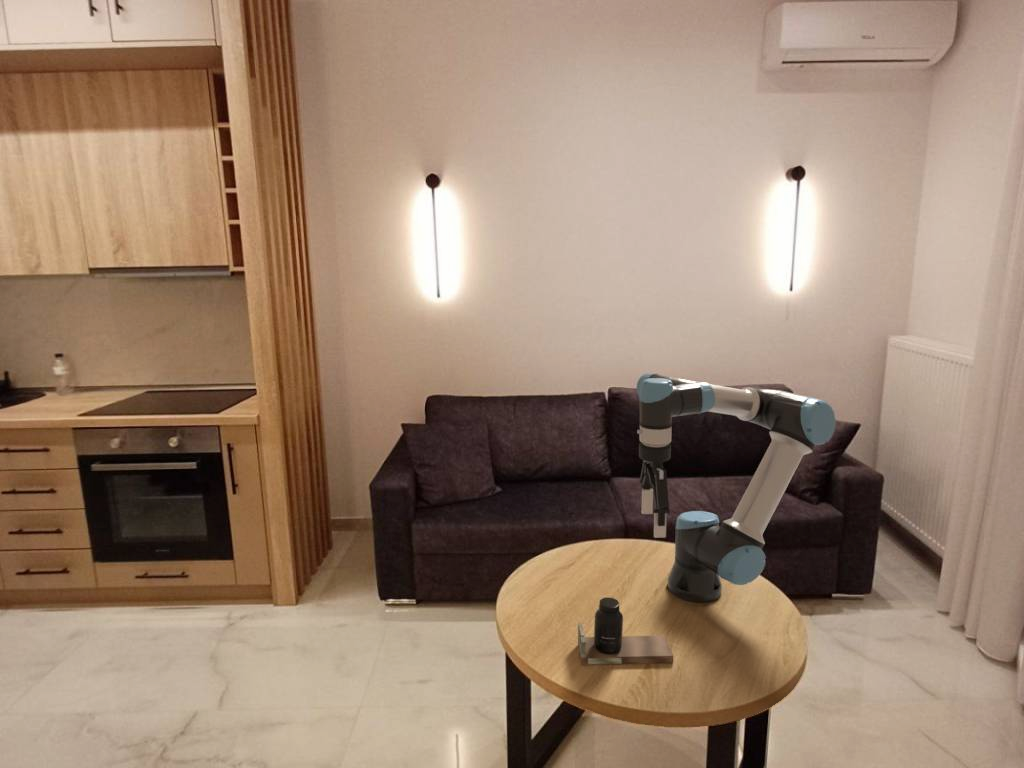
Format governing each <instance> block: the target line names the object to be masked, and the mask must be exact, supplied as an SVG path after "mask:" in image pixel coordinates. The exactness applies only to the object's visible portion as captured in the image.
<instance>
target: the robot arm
mask: <svg viewBox="0 0 1024 768" xmlns="http://www.w3.org/2000/svg"><path fill="white" fill-rule="evenodd" d="M636 393H637V395H638V396H639V397H638V398H639V399H638V400H639V429H637V431H636V433H637V434H638V435H639V444H638V457H639V459H640V460H642V465H641V466H642V467H641V471H640V476H639V477H640V479H639V483H640V484H641V486H640V487H641V515H653V537H654V538H655V539H657V538H658V539H659V538H666V537H667V514H670V512H671V510H670V502H669V501H670V500H669V492H668V491H669V490H668V478H667V476H668V475H667V474H668V471H667V470H666V469H665V467H664V466H663V463H665V462H667V461H669V460H670V459H671V457H672V456H671V455H672V454H671V453H672V444H671V442H672V431H673V430H672V429H673V427H672V426H673V425H672V422H673V417H675V418H676V417H681V416H689V415H696V414H697V415H699V414H702V413H706V412H709V413H717V414H721V415H728V416H730V415H731V416H734V417H737V418H738V419H739V420H741V421H743V422H749V423H752V424H756V425H758V426H761V427H763V428H766V429H768V430H769V432H768V433H769V436H770V438H771V442H770V443H769V446H768V447H767V449H766V451H765V453H764V455H763V457H762V459H761V461H760V462H759V464H758V467H757V468H756V471H755V472H754V474H753V476H752V478H751V480H750V482H749V484H748V486H747V488H746V490H745V492H744V493H743V495H742V497H741V498H740V501H739V503H738V505H737V507H736V509H735V511H734V513H733V515H732V517H731V518H728V519H725V520H723V521H722V523H721V525H720V526H719V523H720V519H719V516H718V515H717V514H715V513H713V512H709V511H703V510H692V511H685V512H682V513H680V514H679V515H678V516H677V518H676V524H675V527H674V528H675V541H674V543H675V546H674V550H675V551H674V563H673V565H672V567H671V570H670V572H669V573H668V574H669V575H668V578H667V588H668V590H669V591H670V592H671V594H673V595H675V597H678V598H680V599H683V600H686V601H687V602H688V601H689V602H695V603H707V602H708V603H709V602H712V601H715V600H717V599H718V598H719V597H721V595H722V588H723V587H722V581H721V579H722V580H724V581H727V582H729V583H730V584H731V585H732V584H733V585H736V586H744V585H748V584H750V583H752V582H754V581H755V580H756V579H758V577H759V576H760V575H761V573H762V572H763V570H764V569H765V566H766V554H765V552H764V551H763V548H764V546H765V544H766V542H765V539H764V537H763V534H764V532H765V530H766V528H768V527H767V526H769V525H768V524H769V523H770V521H771V519H772V516H773V515H774V513H775V511H776V509H777V507H778V505H779V504H780V502H781V499H782V497H783V495H784V493H785V491H786V490H787V488H788V486H789V484H790V482H791V480H792V478H793V476H794V474H795V472H796V470H797V469H798V467H799V465H800V463H801V460H802V459H803V457H804V456H805V455H809V454H812V453H813V451H814V449H815V448H816V446H820V445H825V444H826V443H828V442H829V441H830V440H831V439H832V437H833V435H834V432H835V429H836V417H835V411H834V409H833V407H832V406H831V405H830V404H829V403H828V402H826V401H825V400H822V399H820V398H816V397H814V396H808V395H804V394H798V393H795V392H789V391H787V390H781V389H774V388H773V389H772V388H769V389H768V388H757V387H749V386H747V387H742V388H741V389H740V388H734V387H728V386H724V385H718V384H711V383H708V382H706V381H694V380H689V379H684V378H679V377H670V376H667V375H661V374H659V373H654V372H653V373H652V372H648V373H644V374H642V375H641V376H640V377H639V378H638V381H637V383H636ZM653 502H654V503H653ZM653 507H654V508H655V509H653Z"/></svg>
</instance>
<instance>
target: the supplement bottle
mask: <svg viewBox="0 0 1024 768" xmlns="http://www.w3.org/2000/svg"><path fill="white" fill-rule="evenodd" d="M623 624H624V616H623V613H622V612H621V611H620V601H618V599H616V598H614V597H608V596H607V597H602V598H601V599H600V600H599V602H598V609H597V610H596V611H595V613H594V624H593V625H594V628H593V629H594V630H593V632H594V633H593V637H594V646H595V648H596V649H597V650H598V651H599V652H601V653H604V654H615V653H617V652H619V651H620V650H621V647H622V636H623V629H624V628H623V627H624V625H623Z"/></svg>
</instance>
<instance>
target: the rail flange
mask: <svg viewBox="0 0 1024 768" xmlns="http://www.w3.org/2000/svg"><path fill="white" fill-rule="evenodd" d="M583 626H584V625H583V622H578V623H577V647H578V653H579V657H580V663H581V665H582V666H586V665H588V666H590V665H591V666H592V665H593V666H594V665H601V666H602V665H631V664H632V665H642V664H643V665H644V664H645V665H650V664H673V663H674V654H673V651H672V648H671V646H670V644H669V642H668V640H667V637H666V635H635V636H634V635H632V636H630V635H629V636H626V635H625V636H623V635H622V647H621V650H620V651H619V652H617V653H615V654H604V653H601V652H599V651H598V650H597V649H596V648H595V646H594V636H586V635H585V631H584V627H583Z"/></svg>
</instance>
